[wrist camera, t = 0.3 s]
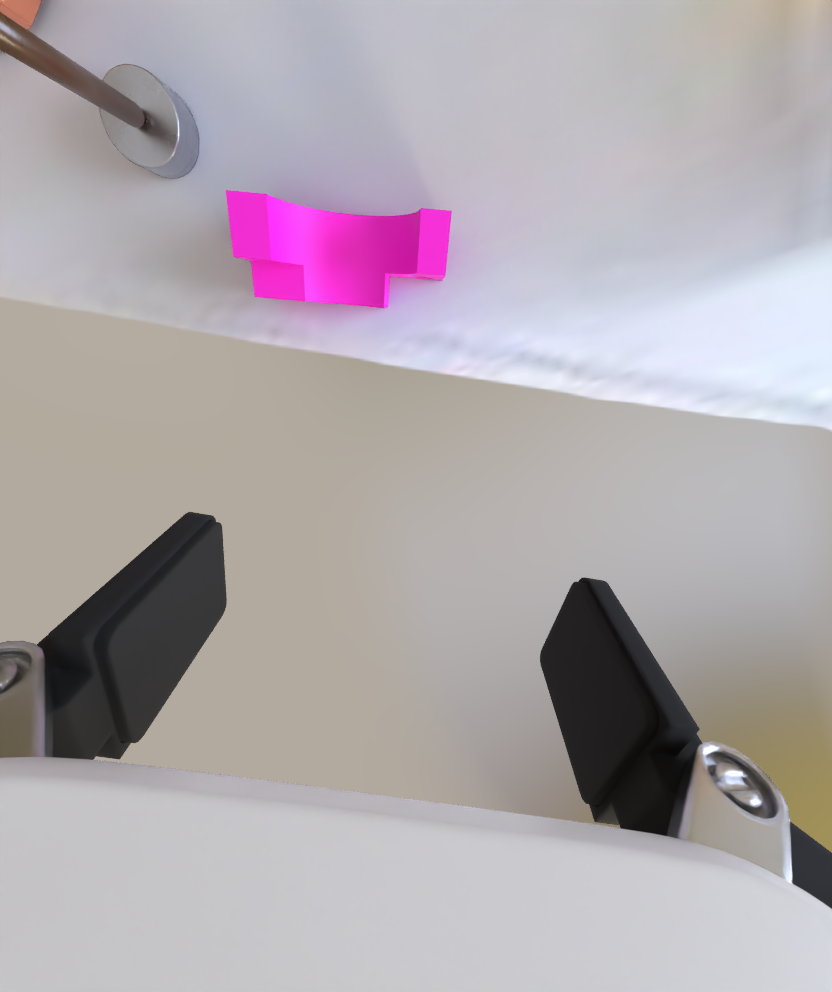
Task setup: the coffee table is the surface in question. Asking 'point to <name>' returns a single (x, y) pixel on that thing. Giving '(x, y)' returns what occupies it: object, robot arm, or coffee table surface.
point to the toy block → (334, 249)
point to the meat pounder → (119, 103)
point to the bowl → (20, 11)
